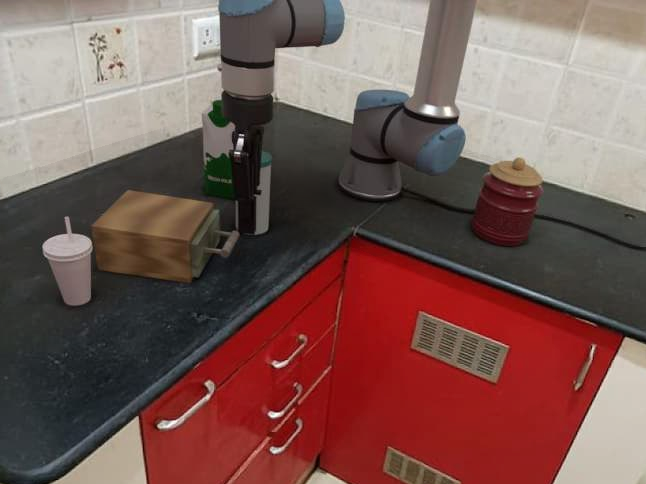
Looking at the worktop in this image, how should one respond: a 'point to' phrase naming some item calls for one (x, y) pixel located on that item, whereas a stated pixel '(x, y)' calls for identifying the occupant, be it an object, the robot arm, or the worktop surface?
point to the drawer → (209, 243)
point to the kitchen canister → (507, 203)
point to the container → (262, 196)
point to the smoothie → (71, 265)
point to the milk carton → (217, 151)
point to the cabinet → (149, 235)
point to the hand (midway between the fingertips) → (247, 231)
